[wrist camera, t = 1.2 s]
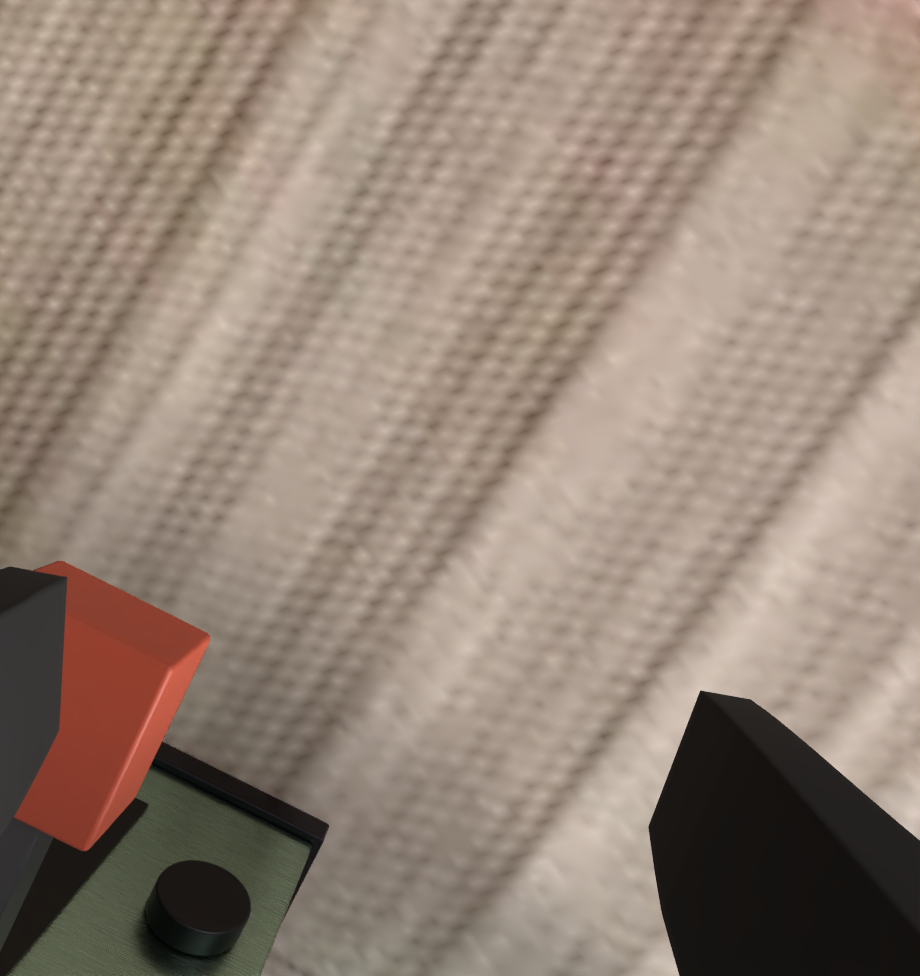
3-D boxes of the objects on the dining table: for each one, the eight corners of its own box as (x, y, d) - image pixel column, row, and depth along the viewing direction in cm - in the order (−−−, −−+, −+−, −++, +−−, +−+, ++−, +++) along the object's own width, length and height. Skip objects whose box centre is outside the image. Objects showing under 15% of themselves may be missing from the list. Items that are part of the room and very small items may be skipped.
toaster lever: (60, 557, 13) (-3, 580, 11) (214, 634, 13) (174, 668, 11) (-97, 910, 13) (-177, 980, 12) (49, 981, 13) (-12, 1061, 12)
